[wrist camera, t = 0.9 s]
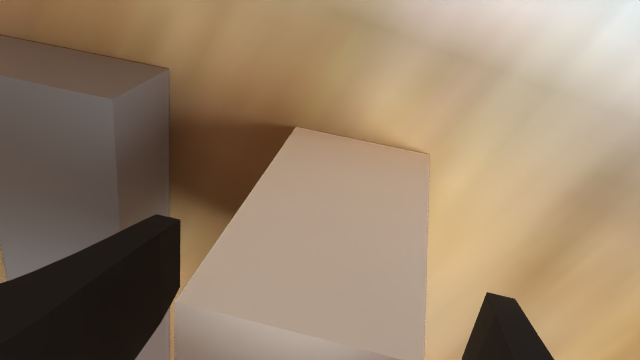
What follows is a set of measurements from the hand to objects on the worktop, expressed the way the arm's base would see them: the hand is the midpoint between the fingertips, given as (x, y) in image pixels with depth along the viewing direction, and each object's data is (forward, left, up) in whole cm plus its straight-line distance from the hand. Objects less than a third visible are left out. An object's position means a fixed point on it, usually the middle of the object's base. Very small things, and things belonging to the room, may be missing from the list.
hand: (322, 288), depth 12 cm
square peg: (0, 0, -5) cm, 5 cm away
